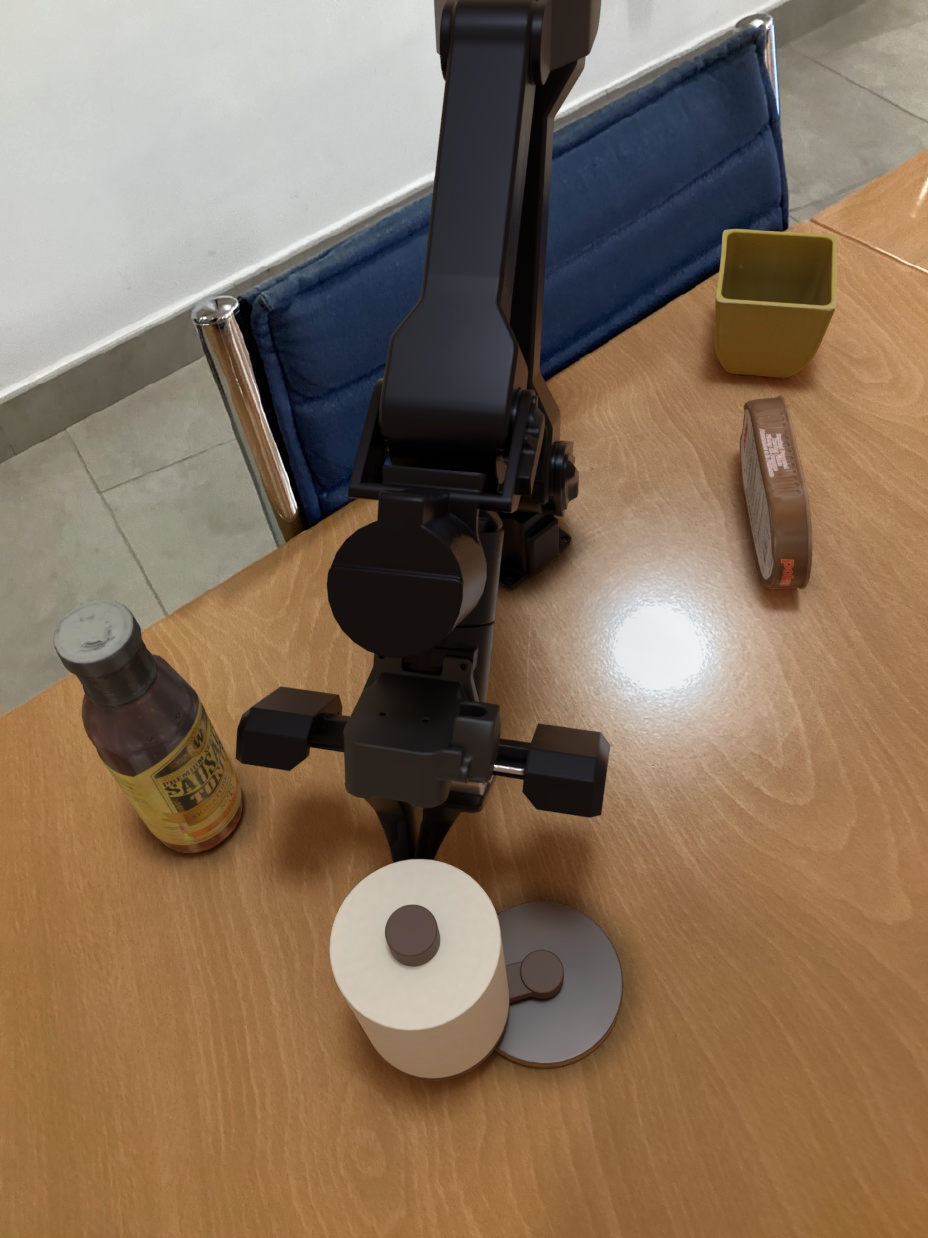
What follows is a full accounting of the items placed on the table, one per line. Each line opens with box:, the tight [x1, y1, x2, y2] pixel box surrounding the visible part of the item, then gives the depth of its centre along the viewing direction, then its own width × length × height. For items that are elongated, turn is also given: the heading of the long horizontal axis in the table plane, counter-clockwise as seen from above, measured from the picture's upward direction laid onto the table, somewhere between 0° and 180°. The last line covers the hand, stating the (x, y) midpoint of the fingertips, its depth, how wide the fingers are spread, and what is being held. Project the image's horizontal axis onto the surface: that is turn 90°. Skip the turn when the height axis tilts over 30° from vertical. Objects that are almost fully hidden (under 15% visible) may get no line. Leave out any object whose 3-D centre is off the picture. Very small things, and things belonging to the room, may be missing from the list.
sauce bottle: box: [52, 598, 244, 854], centre depth 60 cm, size 7×6×20 cm
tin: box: [739, 395, 814, 590], centre depth 74 cm, size 15×3×8 cm, turn 179°
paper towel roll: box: [328, 859, 564, 1082], centre depth 53 cm, size 10×9×13 cm
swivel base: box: [494, 900, 624, 1069], centre depth 60 cm, size 9×9×1 cm
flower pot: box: [713, 228, 839, 379], centre depth 84 cm, size 9×9×9 cm
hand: (411, 900), depth 57 cm, fingers closed, pressing on paper towel roll
